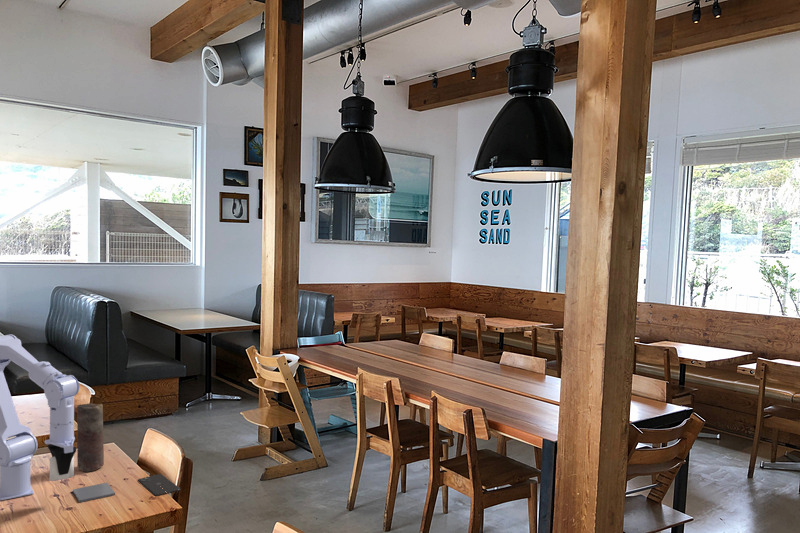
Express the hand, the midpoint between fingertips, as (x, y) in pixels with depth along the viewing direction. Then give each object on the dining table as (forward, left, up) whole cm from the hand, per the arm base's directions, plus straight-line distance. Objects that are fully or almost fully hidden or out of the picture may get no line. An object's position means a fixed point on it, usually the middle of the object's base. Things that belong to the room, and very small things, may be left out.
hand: (61, 472), depth 168 cm
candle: (-23, +12, -9) cm, 27 cm away
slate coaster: (-2, +8, -8) cm, 12 cm away
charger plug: (0, 0, -2) cm, 2 cm away
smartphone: (+2, +25, -9) cm, 27 cm away
